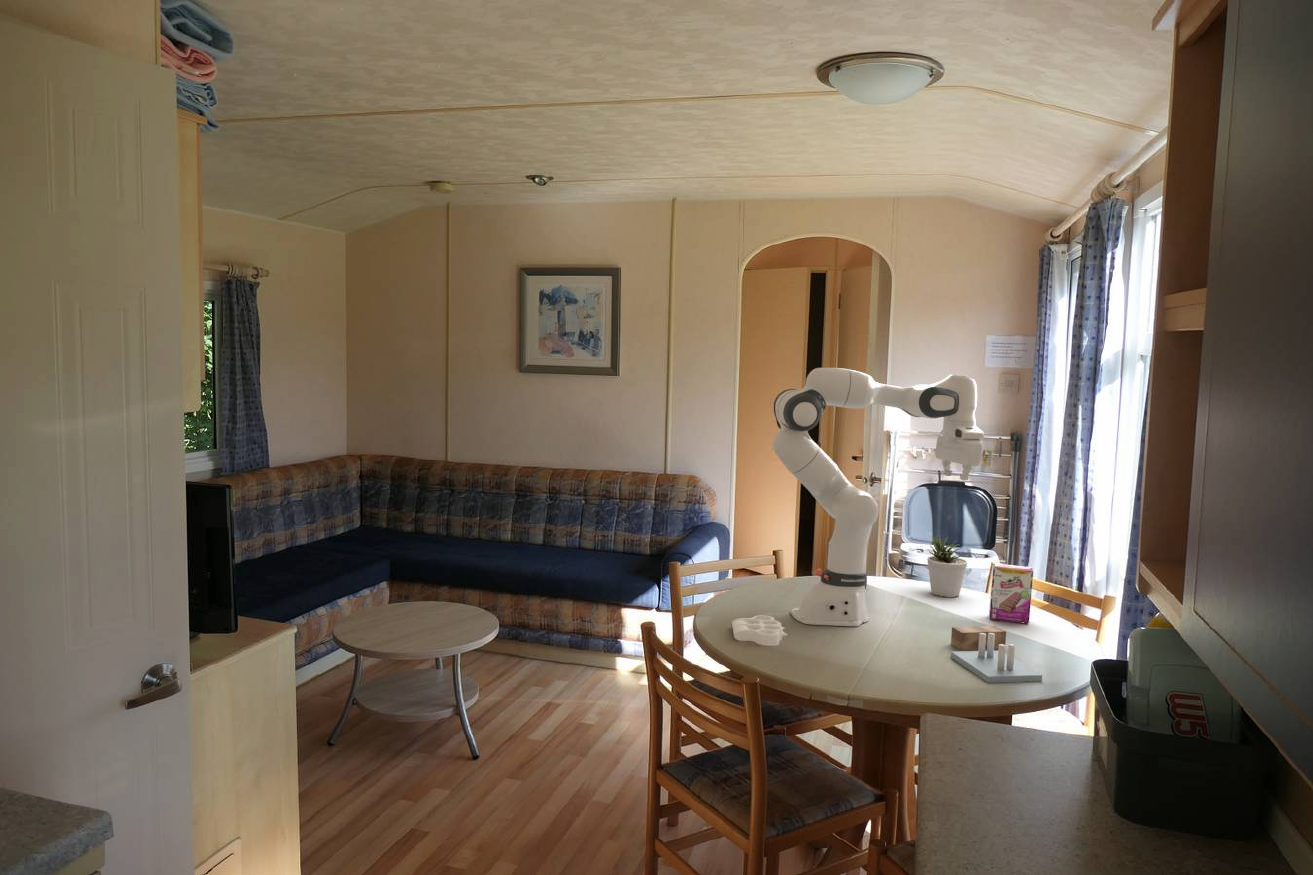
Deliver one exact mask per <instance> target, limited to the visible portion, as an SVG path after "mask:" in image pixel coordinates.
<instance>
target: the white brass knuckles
mask: <svg viewBox="0 0 1313 875" xmlns="http://www.w3.org/2000/svg"><path fill="white" fill-rule="evenodd" d="M731 627H732V632H733V637H734V639H735V640H737V641H738V642H746V641H747V642H753V643H754V642H755V643H756V644H758V645H761V646H764V647H765V646H766V647H767V646H769V647H775V646H778V645H779V644H780V641H782V639H783V637H786V636H788V635H789V634H787V633H786V632H784V630H785V629H786V627H784V626H782V623H781V622H780V621H778V620H776V619H775V617H774V616H771V615H770V616H769V615H761V614H759V615H754V616H753V617H741V618H735V619H734V620H732V622H731Z"/></svg>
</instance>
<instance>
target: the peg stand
mask: <svg viewBox="0 0 1313 875" xmlns="http://www.w3.org/2000/svg"><path fill="white" fill-rule="evenodd" d="M994 640H995V634H994V633H988V643H987V649H985V644H986V634H985V633H979V647H978V650H959V651H951V652H950V658H951V659H953V660H955V661H956V663H959V664H960V665H962V667H964V668H965V669H968V670H969V671H970V672H972V673H973V674H974V675H976V676H977V677H979V678H980V679H982V680H984V681H985V682H987V683H991V684H992V683H993V684H994V683H1021V682H1025V681H1030V682H1043V674H1041V673H1039V672H1038V671H1037V670H1034V669H1033V668H1031V667H1030V666H1028V665H1027V664H1025V663H1023V662H1022V661H1020V660H1018V659H1016V658H1015V649H1016V646H1015V644H1013V643H1008V644H1007V646H1006V644H1005V645H1003V644H999V649H997V650H995V649H994ZM1006 648H1007V652H1006Z"/></svg>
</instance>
